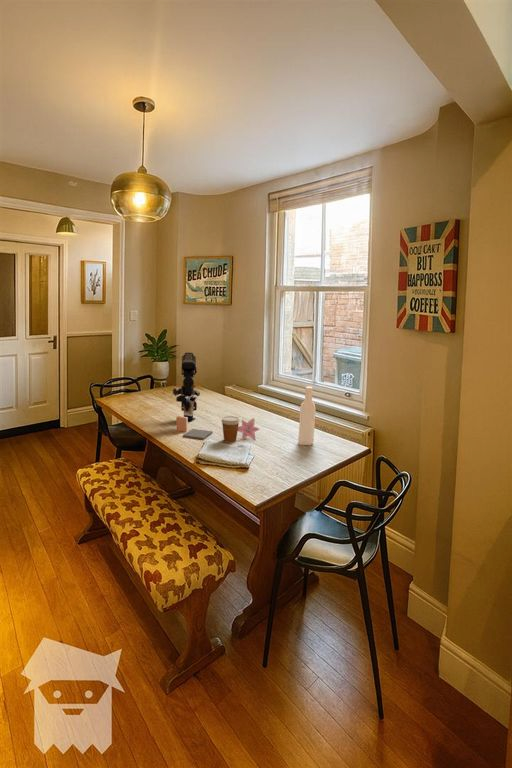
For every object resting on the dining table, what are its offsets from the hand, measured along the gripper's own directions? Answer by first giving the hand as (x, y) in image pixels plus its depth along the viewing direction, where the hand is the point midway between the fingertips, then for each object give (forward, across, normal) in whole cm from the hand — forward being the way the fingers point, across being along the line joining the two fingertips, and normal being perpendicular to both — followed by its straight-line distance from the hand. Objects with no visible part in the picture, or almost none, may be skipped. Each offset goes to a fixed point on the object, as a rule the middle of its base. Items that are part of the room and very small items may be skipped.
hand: (188, 410), depth 239 cm
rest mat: (+9, +11, +11) cm, 18 cm away
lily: (+10, +5, +37) cm, 39 cm away
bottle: (+10, +2, +68) cm, 69 cm away
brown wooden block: (+2, 0, 0) cm, 2 cm away
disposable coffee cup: (+10, +13, +30) cm, 34 cm away
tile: (+10, +8, 0) cm, 13 cm away
